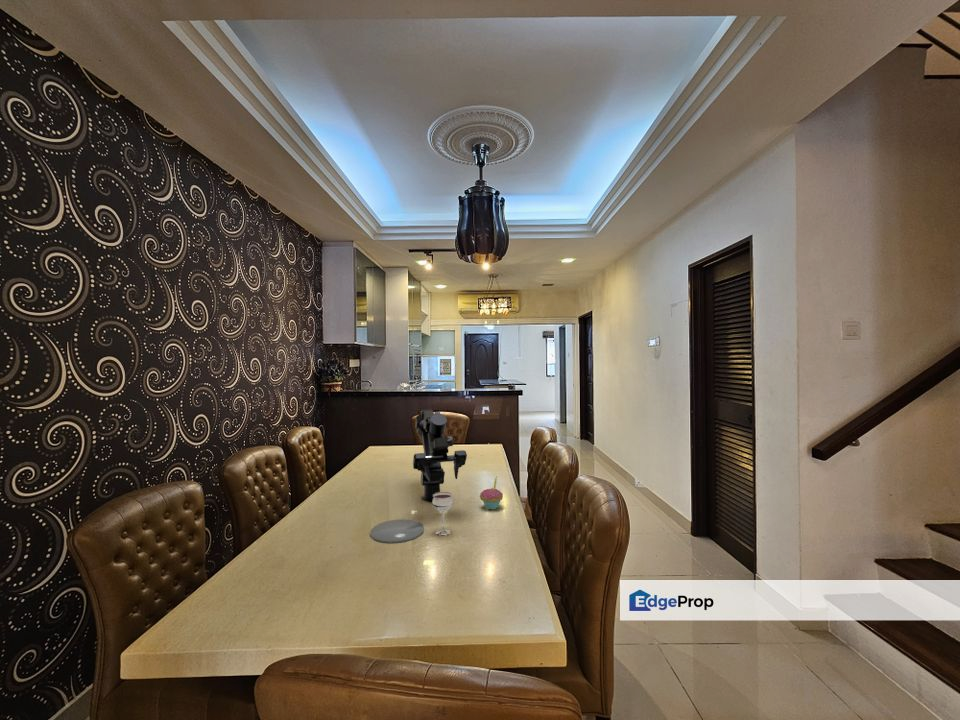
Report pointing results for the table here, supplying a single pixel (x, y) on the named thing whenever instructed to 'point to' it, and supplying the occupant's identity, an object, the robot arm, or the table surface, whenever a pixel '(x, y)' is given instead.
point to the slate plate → (397, 531)
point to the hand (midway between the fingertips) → (443, 479)
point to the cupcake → (491, 497)
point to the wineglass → (442, 506)
